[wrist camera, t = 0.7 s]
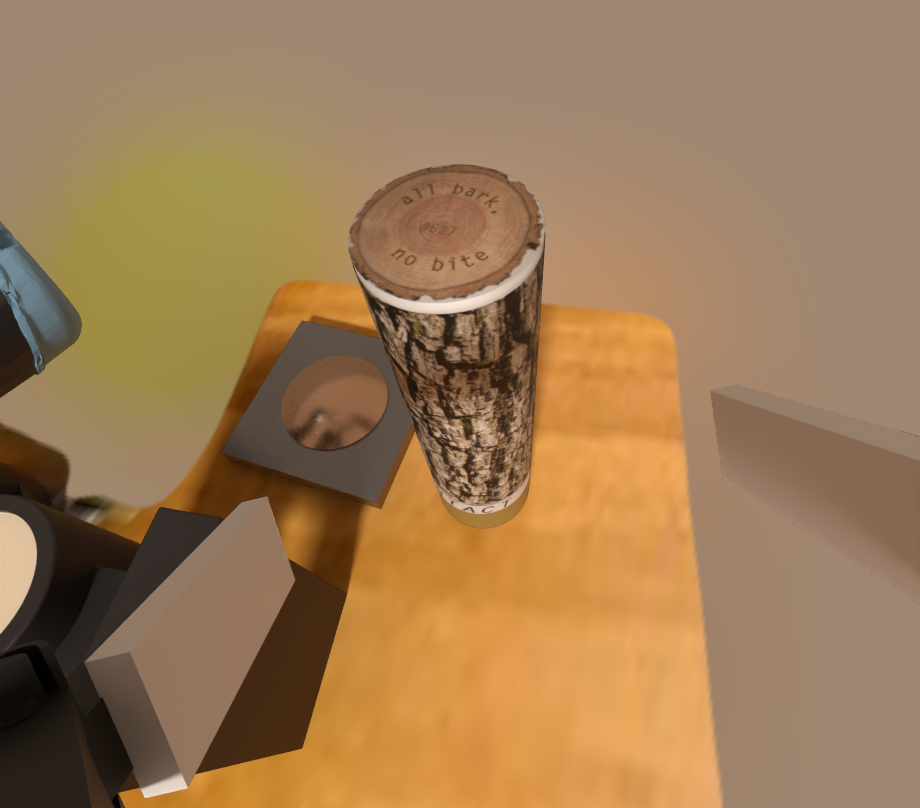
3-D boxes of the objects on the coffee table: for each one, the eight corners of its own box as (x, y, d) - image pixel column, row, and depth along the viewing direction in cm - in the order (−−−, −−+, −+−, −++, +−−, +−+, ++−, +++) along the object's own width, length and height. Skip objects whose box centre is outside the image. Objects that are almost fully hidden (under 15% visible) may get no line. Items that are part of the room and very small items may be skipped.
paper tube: (458, 437, 41) (395, 153, 20) (539, 461, 40) (568, 178, 18) (426, 514, 38) (312, 279, 17) (513, 544, 37) (510, 324, 15)
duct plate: (229, 459, 42) (219, 451, 41) (307, 330, 48) (301, 318, 47) (381, 509, 39) (375, 501, 37) (444, 363, 45) (441, 351, 44)
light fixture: (178, 556, 39) (-47, 462, 23) (348, 590, 36) (222, 511, 21) (111, 702, 34) (-226, 706, 19) (300, 753, 31) (94, 807, 16)
